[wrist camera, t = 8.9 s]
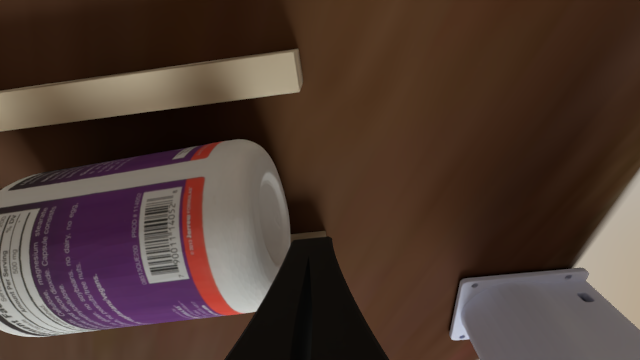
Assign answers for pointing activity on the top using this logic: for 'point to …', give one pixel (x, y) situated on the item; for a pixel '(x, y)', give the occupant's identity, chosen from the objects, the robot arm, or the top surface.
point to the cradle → (154, 92)
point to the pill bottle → (141, 240)
